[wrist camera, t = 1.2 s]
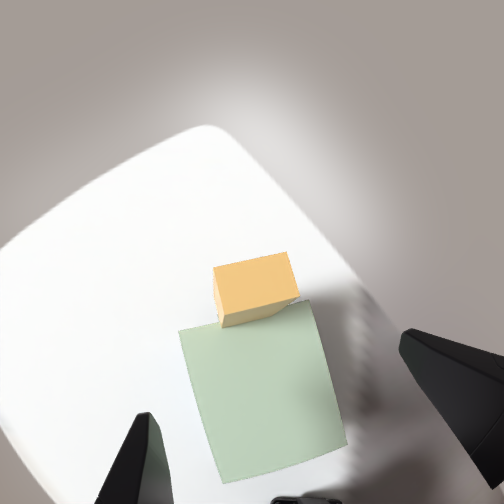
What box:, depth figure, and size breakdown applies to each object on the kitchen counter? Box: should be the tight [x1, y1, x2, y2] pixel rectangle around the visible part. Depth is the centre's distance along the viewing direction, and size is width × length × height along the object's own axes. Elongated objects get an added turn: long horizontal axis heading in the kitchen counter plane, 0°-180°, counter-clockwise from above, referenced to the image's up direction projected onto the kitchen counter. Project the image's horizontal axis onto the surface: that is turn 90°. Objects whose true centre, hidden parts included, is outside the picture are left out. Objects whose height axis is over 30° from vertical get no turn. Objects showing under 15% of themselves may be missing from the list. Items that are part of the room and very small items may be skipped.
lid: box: [178, 252, 348, 484], centre depth 15 cm, size 12×8×8 cm
